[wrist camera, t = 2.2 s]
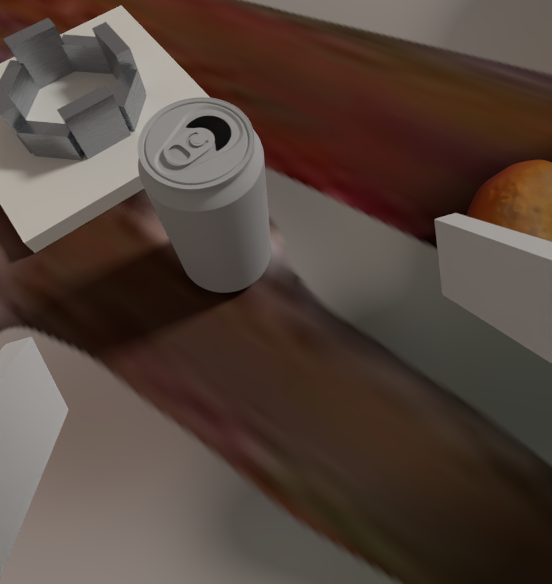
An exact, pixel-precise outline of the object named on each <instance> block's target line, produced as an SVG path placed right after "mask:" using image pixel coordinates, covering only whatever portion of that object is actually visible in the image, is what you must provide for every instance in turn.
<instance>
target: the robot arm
mask: <svg viewBox="0 0 552 584" xmlns="http://www.w3.org/2000/svg"><path fill="white" fill-rule="evenodd" d="M434 220H435V230H436V240H437V251H438V260H439V269H440V270H439V271H440V281H441V291H442V295H444V296H445V297H447V298H448V299H450V300H452V301H453V302H455V303H456V304H458V305H460V306H461V307H463V308H464V309H466V310H467V311H469V312H471V313H472V314H474V315H475V316H477V317H479V318H480V319H482V320H483V321H485V322H486V323H488V324H490V325H491V326H493V327H494V328H496V329H498V330H499V331H501V332H502V333H504V334H505V335H507V336H509V337H510V338H512V339H513V340H515V341H517V342H518V343H520V344H522V345H523V346H524V347H526V348H528V349H529V350H531V351H532V352H534V353H536V354H537V355H539V356H540V357H542V358H543V359H545V360H547V361H548V362H550V363H552V242H551V241H547V240H544V239H541V238H538V237H534V236H531V235H528V234H524V233H521V232H518V231H514V230H511V229H508V228H504V227H501V226H498V225H494V224H491V223H488V222H484V221H481V220H478V219H474V218H471V217H468V216H464V215H461V214H458V213H454V214H450V215H447V216H443V217H440V218H436V219H434ZM67 412H68V408H67V406H66V404H65V402H64V400H63V398H62V396H61V394H60V392H59V390H58V388H57V386H56V384H55V382H54V380H53V378H52V376H51V374H50V372H49V370H48V368H47V366H46V364H45V362H44V360H43V358H42V356H41V354H40V352H39V350H38V348H37V346H36V344H35V342H34V340H33V338H32V336H31V337H27V338H24V339H20V340H17V341H13V342H10V343H7V344H5V345H4V346H3V348H2V349H1V350H0V577H1V575H2V572H3V570H4V567H5V565H6V562H7V560H8V557H9V555H10V552H11V550H12V548H13V545H14V543H15V540H16V538H17V535H18V533H19V530H20V528H21V526H22V523H23V521H24V518H25V516H26V513H27V511H28V508H29V506H30V503H31V501H32V498H33V496H34V493H35V491H36V489H37V486H38V483H39V481H40V479H41V476H42V474H43V471H44V469H45V467H46V464H47V461H48V459H49V457H50V454H51V452H52V449H53V447H54V444H55V442H56V440H57V437H58V434H59V432H60V430H61V427H62V425H63V422H64V420H65V417H66V415H67Z"/></svg>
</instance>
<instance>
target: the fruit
mask: <svg viewBox="0 0 552 584" xmlns="http://www.w3.org/2000/svg"><path fill="white" fill-rule="evenodd" d="M467 216H468V217H471V218H474V219H478V220H481V221H484V222H488V223H491V224H494V225H498V226H501V227H504V228H508V229H511V230H514V231H518V232H521V233H524V234H528V235H531V236H534V237H538V238H541V239H544V240H547V241H551V242H552V162H549V161H546V160H530V161H525V162H520V163H517V164H514V165H511V166H509V167H508V168H506V169H504V170H503V171H501V172H500V173H498V174H497V175H495V176H493V177H492V178H490V179H489V180H488V181H486V182H485V183H484V184H483V185H482V186H481V187H480V188H479V189H478V191H477V192H476V194H475V196H474V198H473V200H472V202H471V204H470V207H469V209H468V212H467Z"/></svg>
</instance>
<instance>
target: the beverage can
mask: <svg viewBox="0 0 552 584" xmlns="http://www.w3.org/2000/svg"><path fill="white" fill-rule="evenodd" d="M138 155H139V160H138V172H139V176H140V180H141V182H142V184H143V186H144V188H145V190H146V192H147V195H148V197H149V199H150V201H151V203H152V205H153V207H154V209H155V211H156V213H157V215H158V217H159V219H160V221H161V223H162V225H163V227H164V229H165V231H166V233H167V235H168V237H169V239H170V241H171V243H172V245H173V247H174V249H175V252H176V254H177V256H178V258H179V260H180V262H181V264H182V266H183V268H184V270H185V272H186V273H187V275H188V276H189V278H190V279H191V280H192V281H193V282H194V283H196V284H197V285H198V286H200V287H202V288H204V289H206V290H209V291H213V292H220V293H228V292H235V291H238V290H241V289H244V288H246V287H248V286H250V285H251V284H253V283H254V282H255V281H257V280H258V279H259V278H260V277H261V276H262V274H263V273H264V272H265V270H266V268H267V266H268V264H269V261H270V257H271V240H270V228H269V215H268V204H267V203H268V202H267V190H266V177H265V164H264V152H263V147H262V144H261V142H260V139H259V137H258V135H257V134H256V132H255V131H254V130H253V128H252V125H251V123H250V121H249V119H248V118H247V116H246V115H245V114H244V113H243V112H242V111H241V110H240V109H238V108H237V107H235V106H234V105H232V104H230V103H228V102H225V101H223V100H219V99H215V98H206V97H197V98H189V99H184V100H180V101H177V102H174V103H172V104H170V105H168V106H166V107H164V108H162V109H161V110H159V111H158V112H157V113H156V114H154V115H153V116H152V117H151V118H150V119H149V120H148V122H147V123H146V124H145V126H144V127H143V129H142V131H141V134H140V136H139V140H138Z"/></svg>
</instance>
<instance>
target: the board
mask: <svg viewBox="0 0 552 584" xmlns="http://www.w3.org/2000/svg"><path fill="white" fill-rule="evenodd" d="M104 22H106V23H107V24H108V25H109V26H110V27H111V28H112V29H113V30H114V31H115V32H116V33H117V34H118V36H119V37H120V38H121V39H122V40H123V41H124V42H125V43H126V44H127V45H128V46H129V48H130V49H131V52H132V55H133V57H134V60H135V63H136V66H137V68H138V71H139V74H140V77H141V80H142V82H143V85H144V88H145V91H146V95H147V96H146V99H145V102H144V105H143V108H142V111H141V114H140V117H139V120H138V123H137V126H136V129H135V131H130V134H131V136H129V137H127V138H125V139H124V140H122V141H120V142H118V143H117V144H115V145H113V146H111V147H109V148H108V149H106V150H104V151H102V152H100V153H99V154H97V155H95V156H93V157H92V158H90V159H88V158H87V157H86V155H84V157H83V160H82V161H81V160H70V159H60V158H49V157H38V156H35V155H34V154H33V153H31V154H30V152H29V151H28V150H27V148H26V147H25V146H24V145H23V143H22V142H21V141H20V139H19V138H18V137H17V136H16V134H15V133H14V132H13V130H12V129H11V128H10V127H9V125H8V124H7V123H6V121H5V120H4V119H3V117H2V116H1V115H0V205H1V206H2V208H3V209H4V211H5V213H6V214H7V216H8V218H9V219H10V221H11V223H12V224H13V226H14V227H15V229H16V231H17V232H18V234H19V236H20V237H21V239H22V241H23V242H24V244H26V245H27V246H28V247H29V248H30V249H31V250H32V251H33V252H34V253H36V252H38V251H40V250H41V249H43V248H45V247H46V246H48V245H50V244H51V243H53V242H55V241H57V240H58V239H60V238H62V237H63V236H65V235H67V234H68V233H70V232H72V231H73V230H75V229H77V228H78V227H80V226H82V225H83V224H85V223H87V222H88V221H90V220H92V219H93V218H95V217H97V216H99V215H100V214H102V213H104V212H105V211H107V210H109V209H110V208H112V207H114V206H115V205H117V204H119V203H120V202H122V201H124V200H125V199H127V198H129V197H130V196H132V195H134V194H135V193H137V192H139V191H141V190H142V189H144V186H143V184H142V182H141V180H140V176H139V172H138V160H139V155H138V140H139V136H140V134H141V131H142V129H143V127H144V126H145V124H146V123H147V122H148V120H149V119H150V118H151V117H152V116H153V115H154V114H156V113H157V112H158V111H159V110H161V109H162V108H164V107H166V106H168V105H170V104H172V103H174V102H177V101H180V100H184V99H189V98H197V97H206V98H210V97H209V96H208V95H207V94H206V93H205V92H204V91H203V90H202V89H201V88H200V87H199V86H198V85H197V83H196V82H195V81H194V80H193V79H192V78H191V77H190V76H189V75H188V74H187V73H186V72H185V71H184V70H183V69H182V68H181V67H180V66H179V65H178V64H177V63H176V62H175V61H174V60H173V59H172V58H171V56H170V55H169V54H168V53H167V52H166V51H165V50H164V49H163V48H162V47H161V46H160V45H159V44H158V43H157V42H156V41H155V40H154V39H153V38H152V37H151V36H150V35H149V34H148V33H147V32H146V31H145V30H144V28H143V27H142V26H141V25H140V24H139V23H138V22H137V21H136V20H135V19H134V18H133V17H132V16H131V15H130V14H129V13H128V12H127V11H126V10H125V9H124V8H123V7H122V6H119V7H117V8H115V9H113V10H111V11H109V12H106V13H104V14H102V15H100V16H98V17H96V18H94V19H92V20H90V21H88V22H86V23H84V24H82V25H80V26H77V27H75V28H73V29H71V30H69V31H67V32H65V33H63V34H65V35H79V36H93V37H95V34H94V32H93V30H92V28H94V27H96V26H98V25H100V24H102V23H104ZM63 34H61V35H60V36H61V38H62V36H63ZM10 60H16V58H15V57H13V58H11V59H9V60H7V61H5V62H3V63H1V64H0V79H1V77H2V75H3V73H4V71H5V69H6V67H7V65H8V63H9V61H10ZM16 61H17V60H16ZM117 82H118V80H117V79H116V78H115V77H114V76H113V74H103V73H90V72H77V71H75V72H73V73H71V74H69V75H67V76H65V77H63V78H61V79H59V80H57V81H55V82H53V83H51V84H49V85H47V86H45V87H43V88H41V89H40V90H39V92H38V94H37V96H36V98H35V100H34V103H33V105H32V107H31V109H30V111H29V113H28V115H27V118H26V120H27V121H39V122H50V123H61V124H65V123H64V121H63V119H62V118H61V116H60V114H59V113H58V111H57V109H59V108H61V107H63V106H65V105H67V104H69V103H71V102H73V101H74V100H76V99H78V98H80V97H82V96H84V95H86V94H88V93H90V92H92V91H94V90H96V89H97V88H99V87H101V86H103V85H105V86H106V87H107V88H108V89H109V90H110V91H111V93H112V94H113V92H114V90H115V87H116V84H117Z"/></svg>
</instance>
